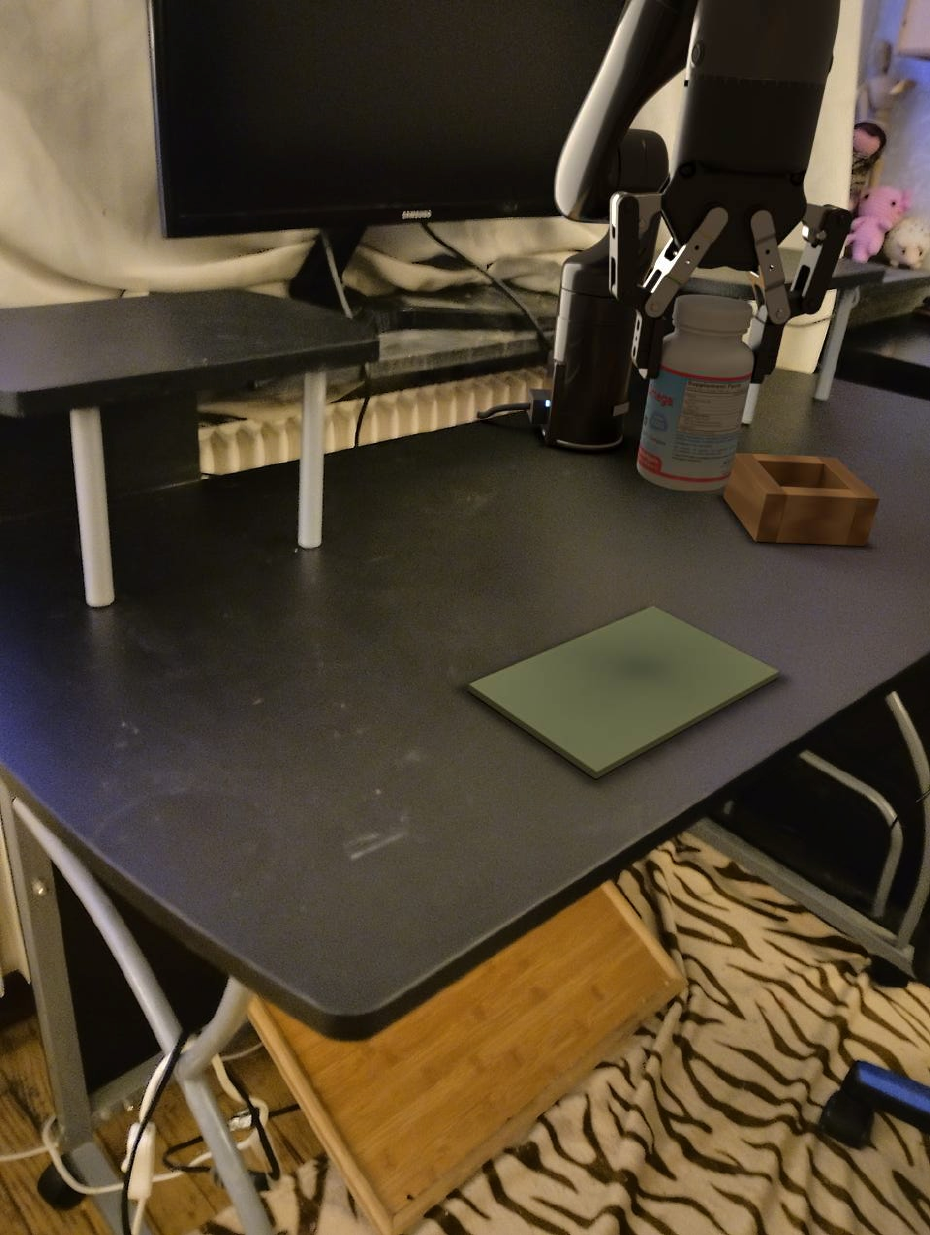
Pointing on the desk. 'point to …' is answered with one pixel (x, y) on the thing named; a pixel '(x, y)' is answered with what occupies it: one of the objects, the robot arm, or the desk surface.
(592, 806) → the desk surface
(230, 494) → the desk surface
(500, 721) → the desk surface
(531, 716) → the mat
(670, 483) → the pill bottle
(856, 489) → the stand
